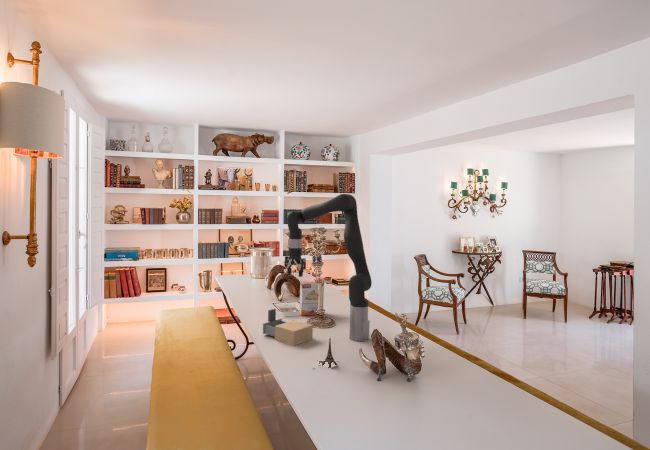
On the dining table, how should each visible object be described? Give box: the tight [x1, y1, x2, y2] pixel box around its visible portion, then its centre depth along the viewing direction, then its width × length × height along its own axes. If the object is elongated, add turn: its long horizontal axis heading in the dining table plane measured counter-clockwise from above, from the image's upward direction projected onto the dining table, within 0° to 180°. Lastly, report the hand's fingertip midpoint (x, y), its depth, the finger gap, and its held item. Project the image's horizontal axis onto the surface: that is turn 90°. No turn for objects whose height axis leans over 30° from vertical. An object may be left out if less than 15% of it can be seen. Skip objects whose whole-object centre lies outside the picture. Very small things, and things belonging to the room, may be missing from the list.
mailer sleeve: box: [274, 319, 314, 346], centre depth 215 cm, size 13×14×7 cm
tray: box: [262, 308, 288, 338], centre depth 221 cm, size 14×13×11 cm
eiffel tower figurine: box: [319, 337, 338, 369], centre depth 183 cm, size 15×10×13 cm
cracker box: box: [299, 279, 325, 317], centre depth 262 cm, size 14×6×21 cm, turn 105°
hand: (294, 275), depth 238 cm, fingers open, 8 cm apart
